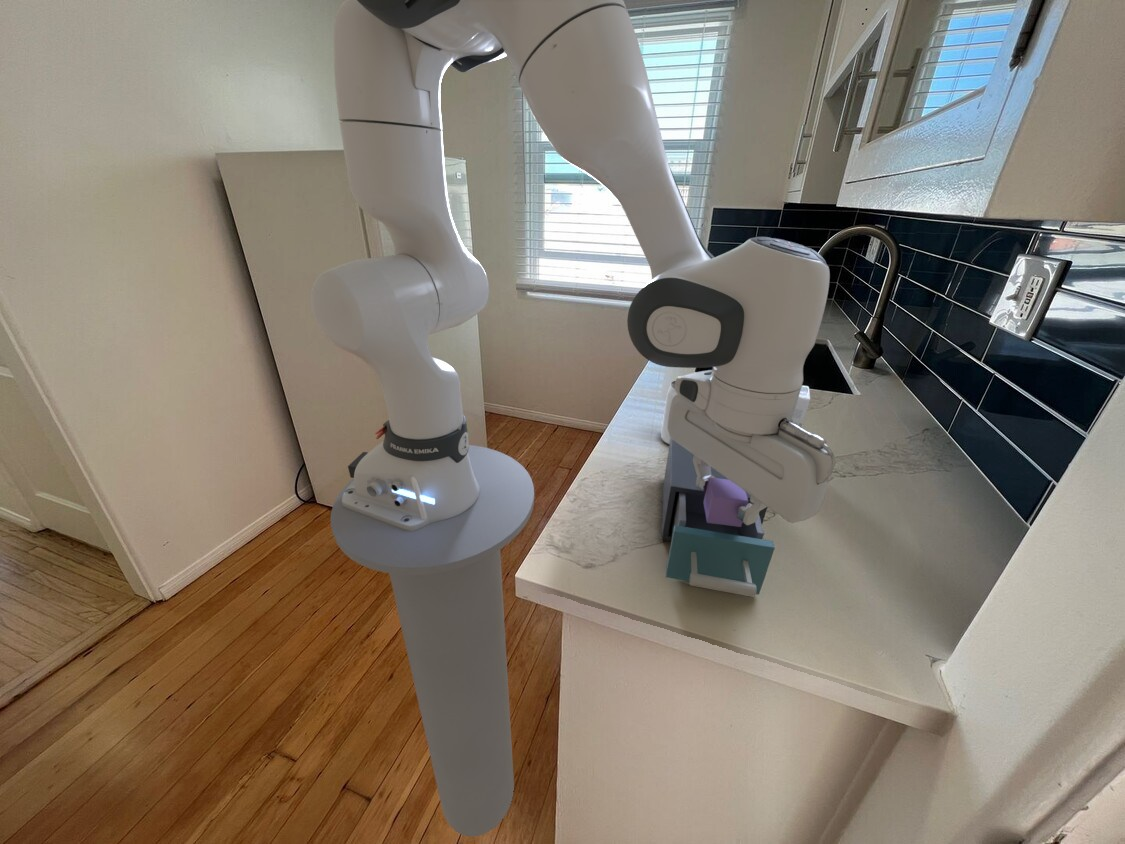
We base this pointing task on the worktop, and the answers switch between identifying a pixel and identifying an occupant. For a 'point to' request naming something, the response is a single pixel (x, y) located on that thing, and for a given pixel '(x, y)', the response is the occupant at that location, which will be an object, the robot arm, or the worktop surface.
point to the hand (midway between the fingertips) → (723, 503)
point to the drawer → (716, 550)
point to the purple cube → (723, 502)
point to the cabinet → (683, 483)
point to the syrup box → (801, 406)
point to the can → (667, 413)
